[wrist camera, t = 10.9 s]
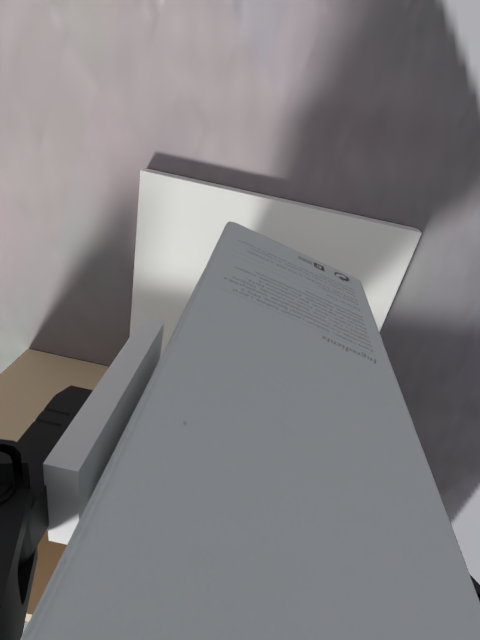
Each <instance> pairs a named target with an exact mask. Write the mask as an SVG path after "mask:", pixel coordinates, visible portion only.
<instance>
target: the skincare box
mask: <svg viewBox="0 0 480 640" xmlns="http://www.w3.org/2000/svg"><path fill="white" fill-rule="evenodd" d="M20 640H480V601H479V598H478V596H477V593H476V590H475V588H474V585H473V582H472V580H471V577H470V574H469V572H468V569H467V566H466V564H465V561H464V558H463V555H462V553H461V550H460V547H459V545H458V542H457V539H456V537H455V535H454V531H453V529H452V526H451V523H450V521H449V518H448V515H447V513H446V510H445V507H444V505H443V502H442V499H441V497H440V494H439V491H438V489H437V486H436V483H435V481H434V478H433V475H432V472H431V470H430V467H429V464H428V462H427V459H426V456H425V454H424V451H423V448H422V446H421V443H420V441H419V438H418V435H417V433H416V430H415V427H414V424H413V421H412V418H411V416H410V414H409V411H408V408H407V406H406V403H405V400H404V398H403V395H402V392H401V389H400V387H399V384H398V381H397V379H396V376H395V374H394V371H393V368H392V366H391V363H390V360H389V358H388V355H387V352H386V349H385V347H384V344H383V341H382V338H381V335H380V333H379V330H378V328H377V325H376V322H375V319H374V316H373V314H372V311H371V308H370V305H369V303H368V300H367V297H366V294H365V292H364V289H363V286H362V283H361V282H360V280H358V279H356V278H355V277H352V276H350V275H348V274H346V273H344V272H341V271H339V270H337V269H335V268H333V267H331V266H328V265H326V264H324V263H322V262H320V261H318V260H316V259H313V258H311V257H309V256H307V255H305V254H302V253H300V252H298V251H296V250H294V249H291V248H289V247H287V246H285V245H283V244H281V243H279V242H277V241H274V240H272V239H270V238H268V237H266V236H264V235H261V234H259V233H257V232H255V231H253V230H250V229H248V228H246V227H244V226H242V225H240V224H238V223H235V222H230V221H229V222H227V223H226V225H225V227H224V229H223V232H222V234H221V236H220V238H219V240H218V242H217V244H216V246H215V248H214V250H213V252H212V254H211V257H210V259H209V261H208V263H207V265H206V267H205V269H204V271H203V273H202V275H201V277H200V279H199V281H198V282H197V284H196V286H195V288H194V290H193V292H192V294H191V296H190V298H189V300H188V302H187V304H186V306H185V308H184V311H183V313H182V315H181V317H180V319H179V321H178V323H177V325H176V327H175V329H174V331H173V333H172V335H171V337H170V339H169V341H168V343H167V345H166V348H165V350H164V352H163V354H162V356H161V358H160V360H159V362H158V364H157V366H156V368H155V370H154V372H153V374H152V376H151V378H150V380H149V383H148V385H147V386H146V388H145V390H144V392H143V394H142V396H141V398H140V400H139V402H138V404H137V406H136V408H135V410H134V412H133V414H132V416H131V418H130V420H129V422H128V424H127V426H126V428H125V430H124V432H123V434H122V436H121V438H120V440H119V442H118V444H117V446H116V448H115V450H114V452H113V454H112V456H111V458H110V460H109V462H108V464H107V466H106V468H105V470H104V472H103V474H102V476H101V478H100V480H99V482H98V484H97V486H96V488H95V490H94V492H93V494H92V496H91V498H90V500H89V502H88V504H87V506H86V508H85V510H84V512H83V514H82V516H81V518H80V520H79V522H78V524H77V526H76V528H75V530H74V532H73V534H72V536H71V538H70V540H69V542H68V544H67V546H66V548H65V550H64V552H63V554H62V556H61V558H60V560H59V562H58V564H57V566H56V568H55V570H54V572H53V574H52V576H51V578H50V580H49V582H48V585H47V587H46V589H45V591H44V593H43V595H42V597H41V599H40V601H39V603H38V605H37V607H36V609H35V611H34V613H33V615H32V617H31V619H30V621H29V623H28V625H27V627H26V629H25V631H24V633H23V635H22V637H21V639H20Z"/></svg>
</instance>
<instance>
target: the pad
mask: <svg viewBox="0 0 480 640" xmlns="http://www.w3.org/2000/svg"><path fill="white" fill-rule="evenodd" d="M229 221H230V222H235V223H238V224H240V225H242V226H244V227H246V228H248V229H250V230H253V231H255V232H257V233H259V234H261V235H264V236H266V237H268V238H270V239H272V240H274V241H277V242H279V243H281V244H283V245H285V246H287V247H289V248H291V249H294V250H296V251H298V252H300V253H302V254H305V255H307V256H309V257H311V258H313V259H316V260H318V261H320V262H322V263H324V264H326V265H328V266H331V267H333V268H335V269H337V270H339V271H341V272H344V273H346V274H348V275H350V276H352V277H355V278H356V279H358V280H360V282H361V283H362V286H363V289H364V292H365V294H366V297H367V300H368V303H369V305H370V308H371V311H372V314H373V316H374V319H375V322H376V325H377V328H378V330H379V332H380V330H381V327H382V325H383V323H384V320H385V318H386V316H387V313H388V311H389V309H390V306H391V304H392V302H393V299H394V297H395V295H396V292H397V290H398V288H399V285H400V283H401V281H402V278H403V276H404V274H405V271H406V269H407V267H408V264H409V262H410V260H411V257H412V255H413V253H414V250H415V248H416V246H417V243H418V241H419V239H420V236H421V234H422V233H421V232H420V231H419V230H418V229H417V228H413V227H409V226H404V225H400V224H395V223H391V222H386V221H382V220H377V219H373V218H368V217H364V216H359V215H355V214H350V213H346V212H341V211H337V210H332V209H328V208H323V207H319V206H314V205H310V204H305V203H301V202H296V201H292V200H287V199H283V198H278V197H274V196H269V195H265V194H260V193H256V192H251V191H247V190H242V189H238V188H233V187H229V186H224V185H220V184H215V183H211V182H206V181H202V180H197V179H193V178H188V177H184V176H179V175H174V174H170V173H165V172H161V171H156V170H152V169H147V168H145V169H143V170H140V185H139V200H138V215H137V231H136V246H135V261H134V276H133V291H132V306H131V321H130V336H131V335H132V333H133V332H134V330H135V329H136V327H137V326H138V324H139V323H140V322H141V320H142V319H143V317H145V318H149V319H154V320H158V321H163V322H164V329H163V338H162V347H161V355H160V358H161V356H162V354H163V352H164V350H165V348H166V345H167V343H168V341H169V339H170V337H171V335H172V333H173V331H174V329H175V327H176V325H177V323H178V321H179V319H180V317H181V315H182V313H183V311H184V308H185V306H186V304H187V302H188V300H189V298H190V296H191V294H192V292H193V290H194V288H195V286H196V284H197V282H198V281H199V279H200V277H201V275H202V273H203V271H204V269H205V267H206V265H207V263H208V261H209V259H210V257H211V254H212V252H213V250H214V248H215V246H216V244H217V242H218V240H219V238H220V236H221V234H222V232H223V229H224V227H225V225H226V223H227V222H229ZM130 336H129V338H130Z"/></svg>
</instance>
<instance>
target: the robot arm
mask: <svg viewBox="0 0 480 640" xmlns="http://www.w3.org/2000/svg"><path fill="white" fill-rule="evenodd" d="M163 329H164V322H163V321H158V320H154V319H149V318H145V317H143V319H142V320H141V322H140V323H139V324H138V326H137V327H136V329H135V330H134V332H133V333H132V335H131V336H130V338H129V339H128V340H127V342H126V343H125V345H124V346H123V348H122V349H121V351H120V352H119V354H118V355H117V356H116V358H115V359H114V361H113V362H112V364H111V365H110V367H109V368H108V370H107V371H106V372H105V374H104V375H103V377H102V378H101V380H100V381H99V383H98V384H97V386H96V387H95V388H94V390H90V389H85V388H81V387H76V386H72V385H71V386H69V387H67V388H66V389H64V390H62V391H61V392H59V393H57V394H56V395H55V396H54V397H53V398H52V399H51V401H50V402H49V403H48V404H47V405H46V407H45V408H44V411H42V412H41V413H40V414H39V415H38V417H37V418H36V420H35V422H33V423H32V424H31V425H30V426H29V428H28V429H27V430H26V431H25V433H24V434H23V435H22V436H21V438H20V439H19V440H18V441H17V442H15V441H13V440H4V439H0V640H20V639H21V637H22V633H23V628H24V623H25V618H26V613H27V608H28V603H29V598H30V593H31V588H32V583H33V578H34V573H35V569H36V564H37V559H38V544H39V542H40V540H41V539H42V537H43V535H44V533H45V532H46V530H47V528H48V539H49V541H53V542H57V543H62V544H66V545H67V544H68V542H69V540H70V538H71V536H72V534H73V532H74V530H75V528H76V526H77V524H78V522H79V520H80V518H81V516H82V514H83V512H84V510H85V508H86V506H87V504H88V502H89V500H90V498H91V496H92V494H93V492H94V490H95V488H96V486H97V484H98V482H99V480H100V478H101V476H102V474H103V472H104V470H105V468H106V466H107V464H108V462H109V460H110V458H111V456H112V454H113V452H114V450H115V448H116V446H117V444H118V442H119V440H120V438H121V436H122V434H123V432H124V430H125V428H126V426H127V424H128V422H129V420H130V418H131V416H132V414H133V412H134V410H135V408H136V406H137V404H138V402H139V400H140V398H141V396H142V394H143V392H144V390H145V388H146V386H147V385H148V383H149V380H150V378H151V376H152V374H153V372H154V370H155V368H156V366H157V364H158V362H159V360H160V355H161V347H162V338H163ZM470 577H471V580H472V582H473V585H474V588H475V590H476V593H477V596H478V598H479V601H480V585H479V584H478V583H477V582H476V581H475V579H473V577H472V576H471V575H470Z"/></svg>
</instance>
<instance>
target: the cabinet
mask: <svg viewBox="0 0 480 640" xmlns="http://www.w3.org/2000/svg"><path fill="white" fill-rule="evenodd" d="M108 368H109V366H104V365H100V364H95V363H91V362H86V361H82V360H77V359H72V358H68V357H63V356H59V355H54V354H50V353H45V352H41V351H36V350H32V349H27V350H26V351H25V352H24V353H23V354H22V355H21V356H20V357H18V358H17V359H16V360H15V361H14V362H13V363H12V364H11V365H10V366H9V367H8V368H7V369H5V370H4V371H3V372H2V373H1V374H0V439H4V440H13V441H15V442H17V441H18V440H19V439H20V438H21V436H22V435H23V434H24V433H25V431H26V430H27V429H28V428H29V426H30V425H31V424H32V423H33V422H35V420H36V418H37V417H38V415H39V414H40V413H41V412H42V411H44V408H45V407H46V405H47V404H48V403H49V402H50V401H51V399H52V398H53V397H54V396H55V395H56V394H57V393H59V392H61V391H62V390H64V389H66V388H67V387H69V386H71V385H72V386H76V387H81V388H85V389H90V390H94V388H95V387H96V386H97V384H98V383H99V381H100V380H101V378H102V377H103V375H104V374H105V372H106V371H107V370H108ZM66 546H67V545H66V544H62V543H57V542H53V541H49V539H48V528H47V530H46V532H45V533H44V535H43V537H42V539H41V540H40V542H39V544H38V559H37V564H36V569H35V573H34V578H33V583H32V588H31V593H30V598H29V603H28V608H27V613H26V618H25V621H27V622H29V621H30V619H31V617H32V615H33V613H34V611H35V609H36V607H37V605H38V603H39V601H40V599H41V597H42V595H43V593H44V591H45V589H46V587H47V585H48V582H49V580H50V578H51V576H52V574H53V572H54V570H55V568H56V566H57V564H58V562H59V560H60V558H61V556H62V554H63V552H64V550H65V548H66Z"/></svg>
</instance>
